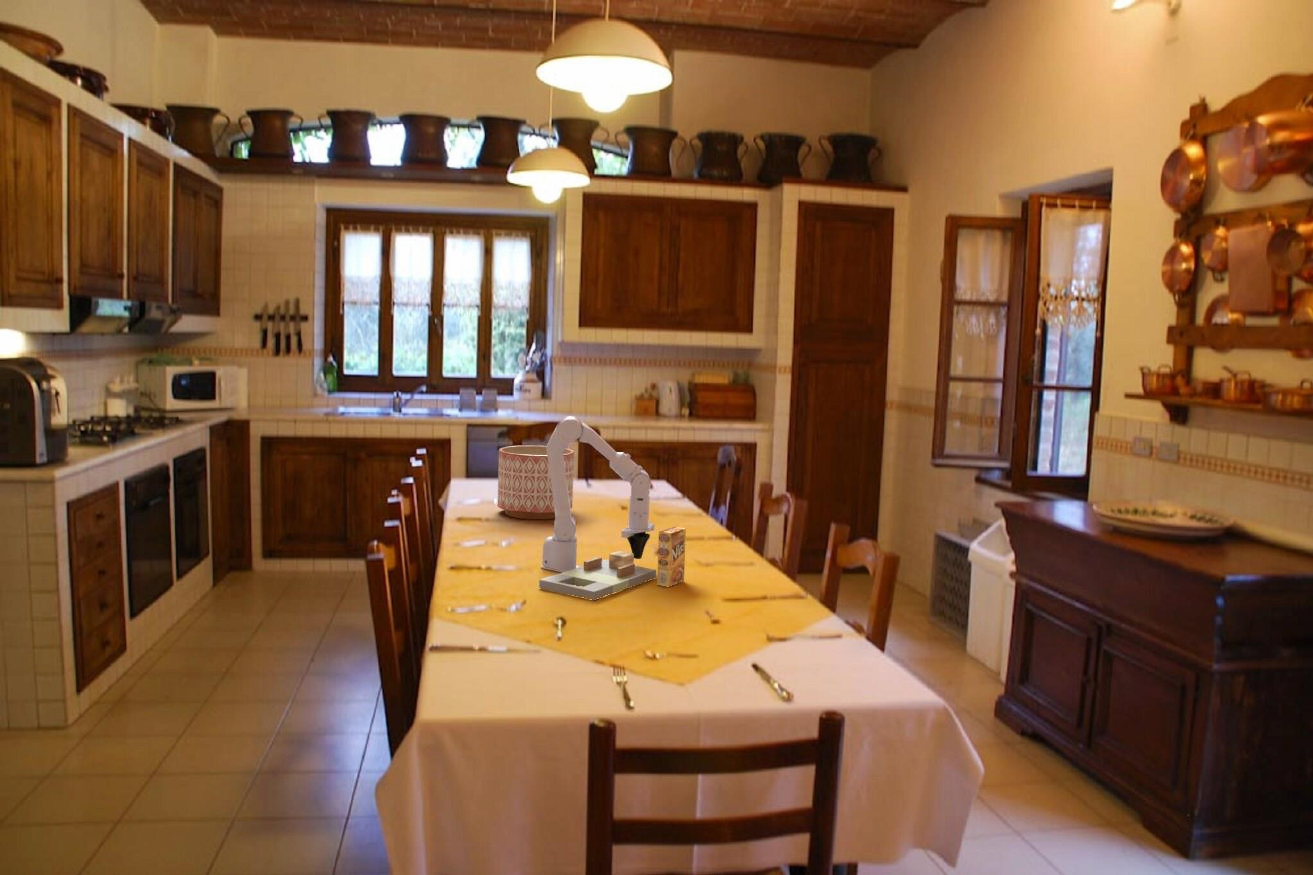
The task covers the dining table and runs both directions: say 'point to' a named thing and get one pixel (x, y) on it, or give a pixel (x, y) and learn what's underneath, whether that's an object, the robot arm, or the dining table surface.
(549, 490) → the planter
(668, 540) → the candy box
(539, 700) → the dining table surface
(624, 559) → the maple block
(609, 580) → the tunnel deck
